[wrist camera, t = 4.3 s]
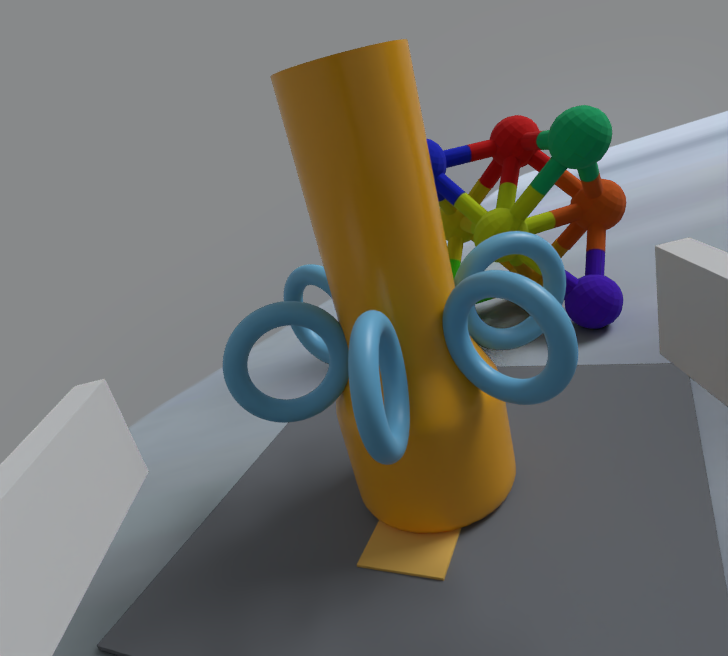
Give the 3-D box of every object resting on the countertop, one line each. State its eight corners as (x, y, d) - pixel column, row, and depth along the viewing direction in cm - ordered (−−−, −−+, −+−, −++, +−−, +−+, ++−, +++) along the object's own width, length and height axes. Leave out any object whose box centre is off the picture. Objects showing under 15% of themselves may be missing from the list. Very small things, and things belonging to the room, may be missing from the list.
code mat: (687, 366, 25) (686, 360, 25) (771, 853, 10) (772, 844, 10) (334, 372, 33) (333, 368, 33) (99, 649, 18) (95, 643, 18)
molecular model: (415, 337, 35) (376, 146, 30) (460, 292, 40) (432, 124, 36) (615, 346, 28) (602, 106, 24) (637, 291, 34) (629, 87, 29)
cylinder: (239, 514, 22) (80, 129, 17) (400, 386, 29) (323, 77, 23) (511, 675, 14) (373, 9, 8) (654, 443, 20) (629, -21, 15)
